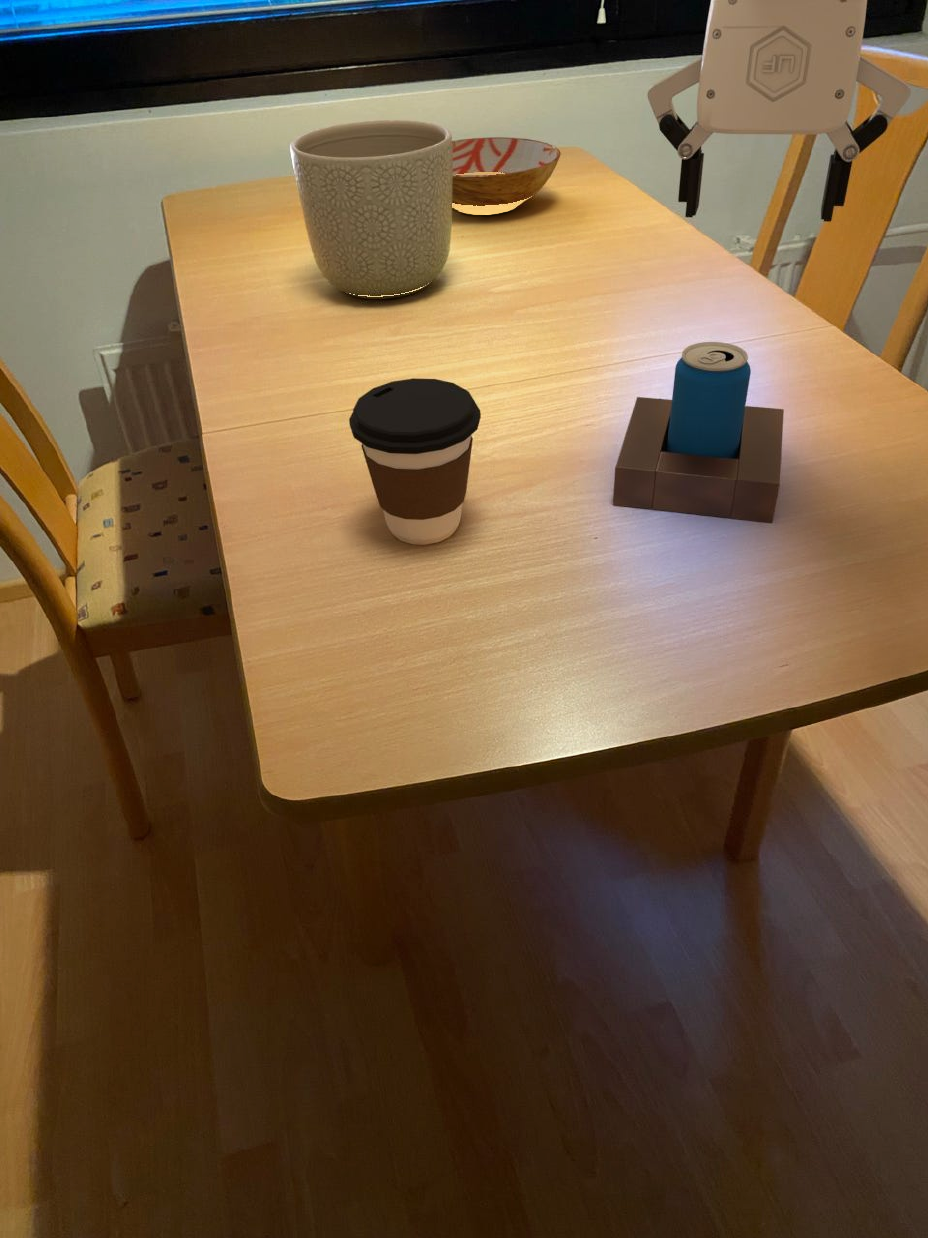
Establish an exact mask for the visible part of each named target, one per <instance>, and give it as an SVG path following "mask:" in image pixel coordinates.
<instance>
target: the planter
mask: <svg viewBox="0 0 928 1238" xmlns="http://www.w3.org/2000/svg"><path fill="white" fill-rule="evenodd" d="M452 141H453V139H452V132H451V131H450V130H449V129H448V128H446V127H445V126H442V125H440V124H437V123H432V122H427V121H426V122H425V121H419V120H407V119H379V120H378V119H377V120H364V121H363V120H362V121H355V122H347V123H340V124H334V125H330V126H329V125H328V126H325V127H320V128H317V129H314V130H310V131H308V132H305V133H303V134H301V135H299V136H296V137H295V138H294V139H293V140H292V141H291V142H290V145H289V147H290V155H291V162H292V167H293V173H294V178H295V184H296V188H297V193H298V197H299V203H300V206H301V212H302V215H303V221H304V225H305V230H306V233H307V234H306V235H307V238H308V241H309V245H310V249H311V252H312V255H313V258H314V261H315V264H316V266H317V269H318V270H319V272H320V274H321V275H322V277H323V278H325V280H327V281H328V282H329V283H330V284H331V285H332V286H333V287H334V288H336V289H338V290H339V291H341V290H342V291H341V292H343V291H344V292H343V293H344V294H346V295H350V296H352V297H356V298H360V299H367V300H385V299H395V298H401V297H405V296H409V295H412V294H415V293H417V292H419V291H421V290H423V289H424V288H426V287H427V286H429V285H430V284H431V283H432V282H433V281H435V280H436V279H437V277H438V276H439V275H440V274H441V272H442V271H443V269H444V268H445V266H446V263H447V261H448V258H449V255H450V249H451V240H452V224H453V223H452V222H453V220H452V219H453V209H452V190H453V157H452ZM431 281H432V282H431ZM430 282H431V283H430ZM428 283H430V284H428ZM427 284H428V285H427ZM425 285H427V286H425ZM423 286H425V287H423ZM420 287H423V288H421V289H419V290H416V291H413V292H409V291H412V290H415V289H418V288H420ZM346 292H347V293H346ZM405 292H409V293H405ZM349 293H351V294H349ZM401 293H405V294H401ZM353 294H355V295H353ZM394 294H400V295H394ZM358 295H368V296H369V295H370V296H381V295H394V296H383V297H367V296H358Z"/></svg>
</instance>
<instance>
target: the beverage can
mask: <svg viewBox="0 0 928 1238" xmlns="http://www.w3.org/2000/svg"><path fill="white" fill-rule="evenodd" d="M748 359H749V355H748V353H747V352H746V350H745V349H743V348H741V347H740V346H738V345H735V344H731V343H727V342H722V341H703V342H696V343H693V344H691V345H688V346H686V347H685V348H684V349H683V350H682V352H681V357H680V358H679V359H678V361H677V362H676V365H675V369H674V378H673V387H672V388H673V389H672V397H671V400H672V405H671V414H670V424H669V433H668V442H667V452H670V453H680V454H690V455H700V456H710V457H720V458H731V459H737V454H738V448H739V442H740V435H741V429H742V423H743V417H744V411H745V406H747V405H746V404H747V397H748V392H749V385H750V379H751V374H752V373H751V372H752V369H751V365H750V364H749V362H748Z"/></svg>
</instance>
